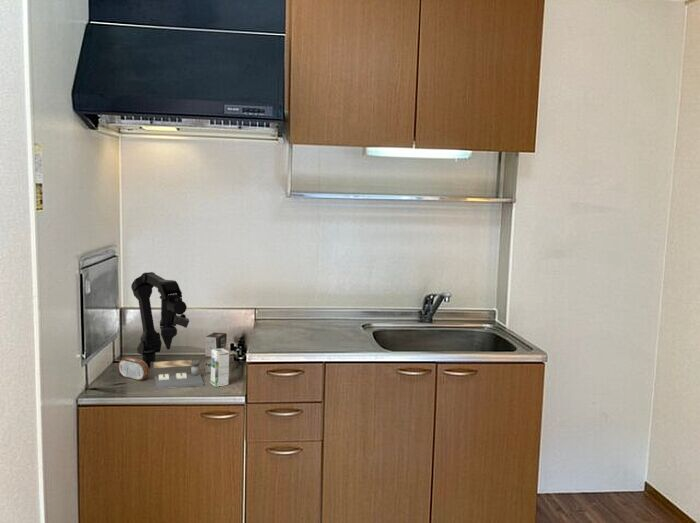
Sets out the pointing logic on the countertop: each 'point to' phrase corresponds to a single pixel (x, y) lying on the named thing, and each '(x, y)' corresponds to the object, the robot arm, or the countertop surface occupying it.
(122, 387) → the countertop surface
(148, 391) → the countertop surface
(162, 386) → the label board
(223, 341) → the coffee box
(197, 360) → the bar
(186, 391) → the countertop surface
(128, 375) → the tin
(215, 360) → the syrup box
